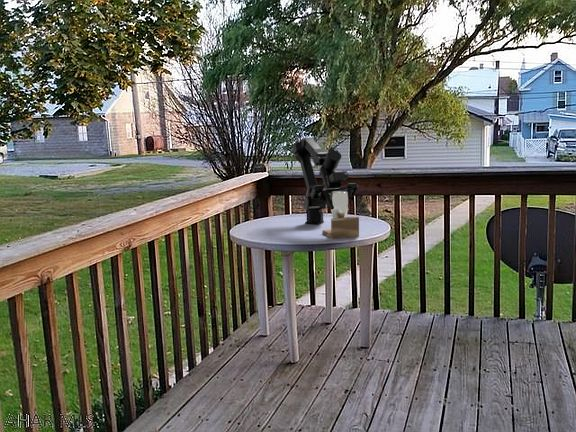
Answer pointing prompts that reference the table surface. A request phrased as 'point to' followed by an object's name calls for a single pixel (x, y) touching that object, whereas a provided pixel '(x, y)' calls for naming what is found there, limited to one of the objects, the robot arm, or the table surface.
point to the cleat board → (343, 228)
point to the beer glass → (339, 204)
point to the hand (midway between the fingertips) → (340, 208)
